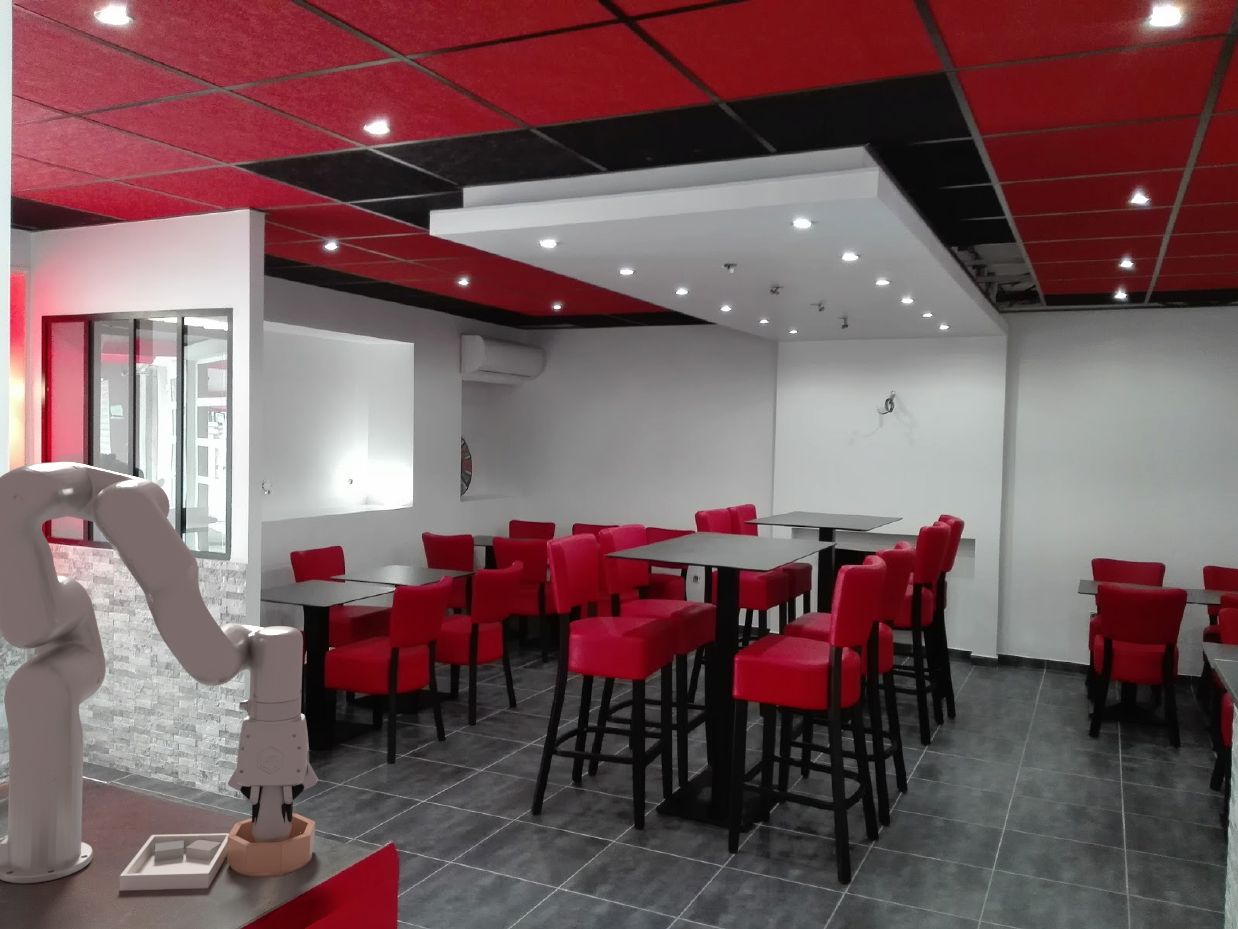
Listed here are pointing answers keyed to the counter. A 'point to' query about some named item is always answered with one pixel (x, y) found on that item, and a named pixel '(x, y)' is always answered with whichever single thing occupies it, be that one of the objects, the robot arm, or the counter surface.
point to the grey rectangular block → (169, 850)
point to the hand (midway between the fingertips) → (272, 825)
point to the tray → (173, 865)
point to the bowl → (270, 849)
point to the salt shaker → (271, 817)
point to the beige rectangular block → (202, 850)
